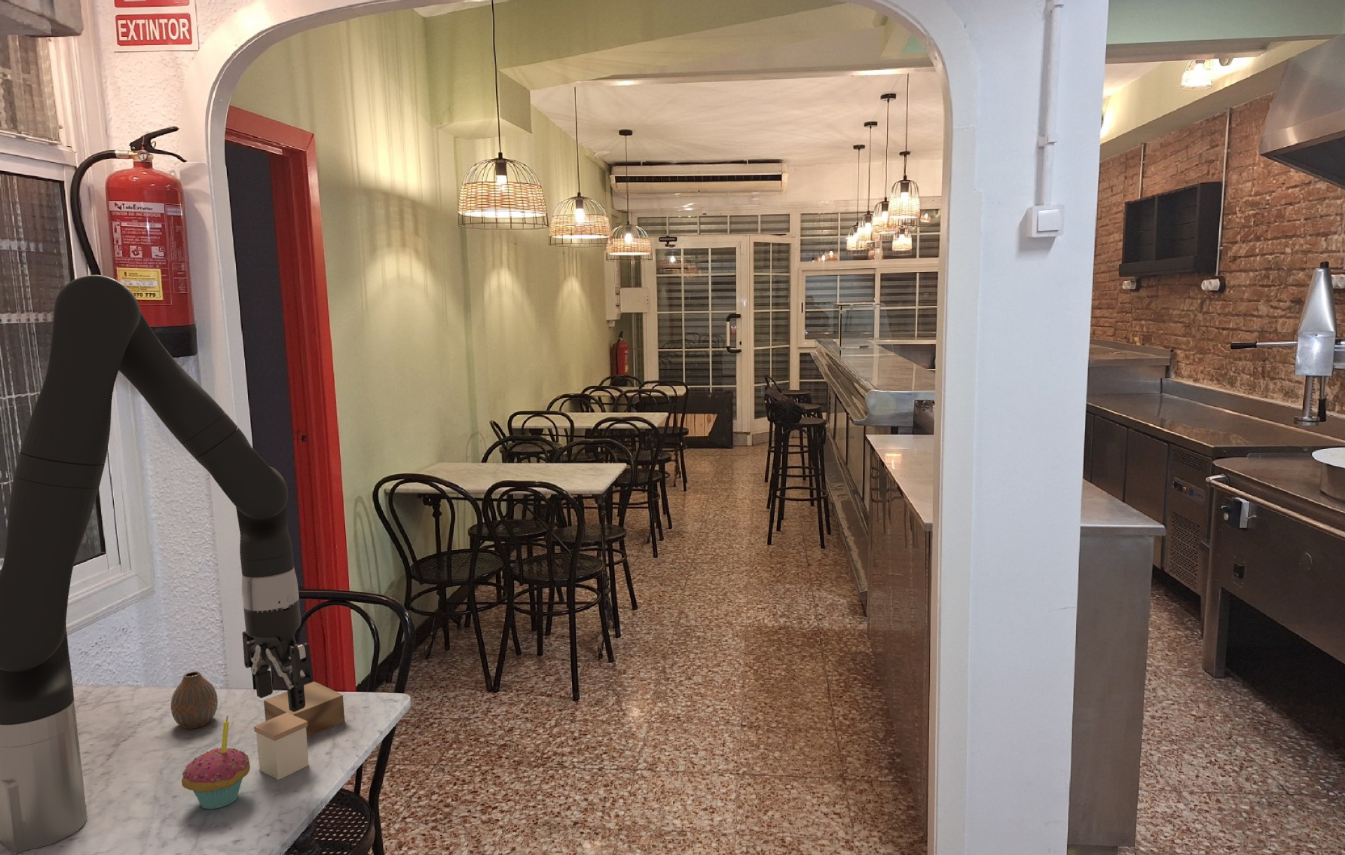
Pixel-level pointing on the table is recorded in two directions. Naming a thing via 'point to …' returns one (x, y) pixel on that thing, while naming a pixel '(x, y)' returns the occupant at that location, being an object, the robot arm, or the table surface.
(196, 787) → the cupcake
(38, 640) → the robot arm
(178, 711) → the vase
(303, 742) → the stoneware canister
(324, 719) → the brown wooden block
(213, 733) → the table surface
